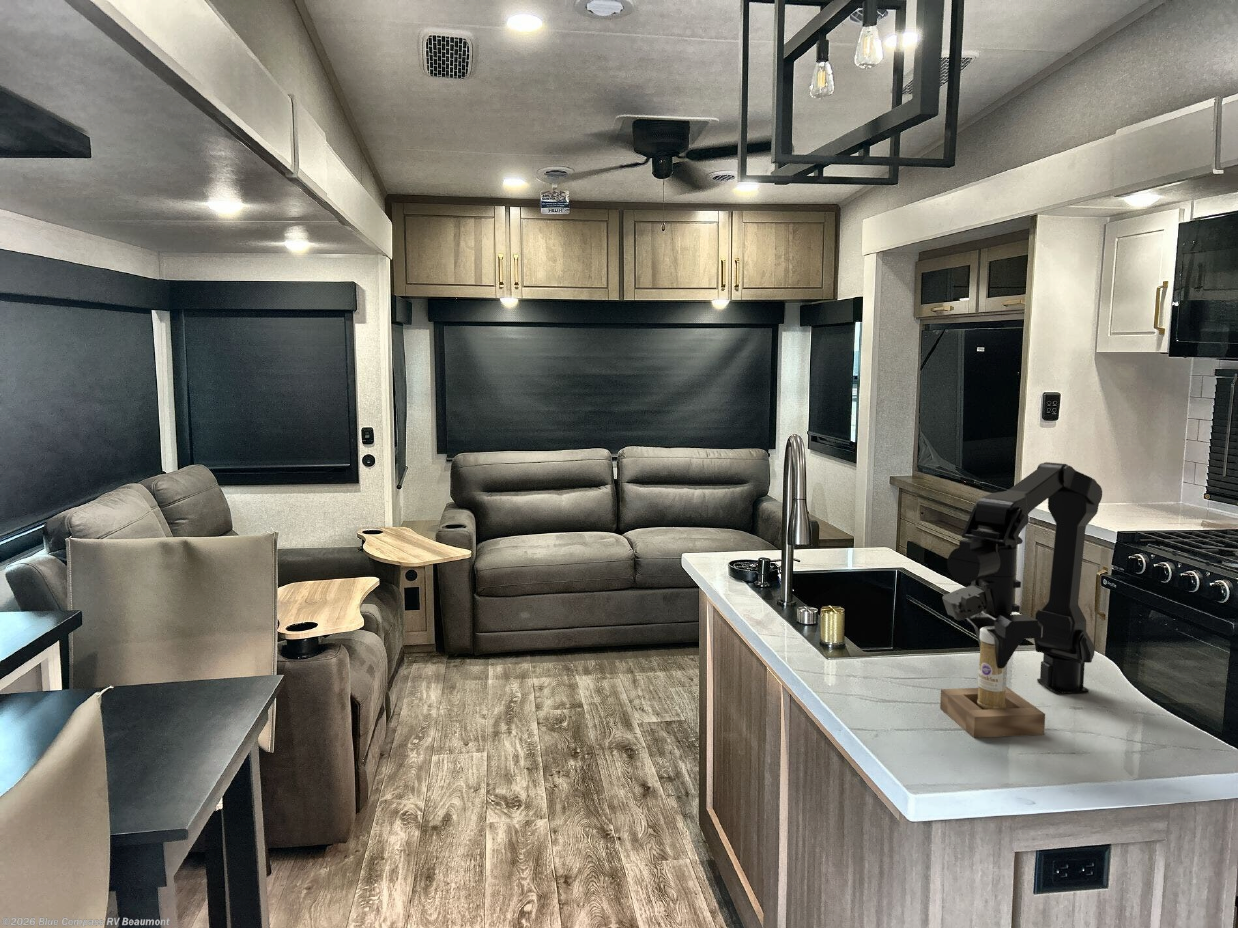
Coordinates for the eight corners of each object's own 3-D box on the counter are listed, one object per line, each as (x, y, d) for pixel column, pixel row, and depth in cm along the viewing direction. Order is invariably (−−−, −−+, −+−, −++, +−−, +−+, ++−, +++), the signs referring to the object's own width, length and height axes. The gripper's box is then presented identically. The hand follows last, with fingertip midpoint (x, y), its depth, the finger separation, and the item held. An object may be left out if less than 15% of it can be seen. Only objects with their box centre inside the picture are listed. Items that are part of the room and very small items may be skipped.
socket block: (1005, 705, 153) (1006, 686, 153) (1044, 734, 141) (1045, 713, 141) (940, 708, 152) (940, 689, 152) (973, 737, 140) (974, 716, 140)
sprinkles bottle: (973, 706, 146) (976, 629, 144) (982, 698, 150) (985, 623, 148) (1001, 713, 143) (1004, 635, 141) (1009, 705, 147) (1013, 628, 145)
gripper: (925, 561, 152) (923, 646, 154) (978, 589, 134) (974, 686, 136) (986, 559, 153) (983, 644, 155) (1046, 586, 135) (1042, 682, 136)
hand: (993, 663), depth 145 cm, fingers closed on sprinkles bottle, 4 cm apart
